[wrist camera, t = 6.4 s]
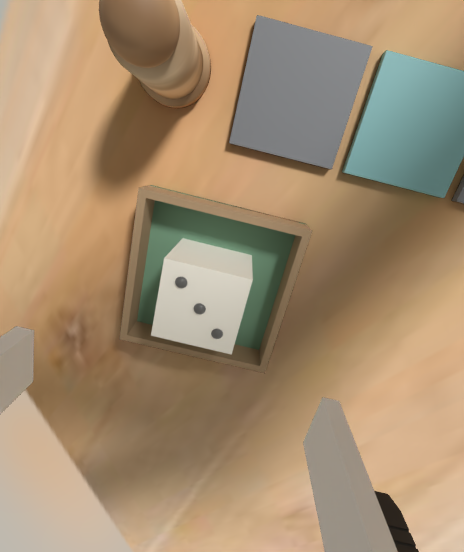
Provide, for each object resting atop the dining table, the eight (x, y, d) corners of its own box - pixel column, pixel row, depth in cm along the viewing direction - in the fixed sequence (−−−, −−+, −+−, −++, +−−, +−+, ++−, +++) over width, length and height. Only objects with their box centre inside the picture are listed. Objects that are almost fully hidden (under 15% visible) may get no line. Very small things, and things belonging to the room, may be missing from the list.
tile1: (256, 19, 21) (257, 14, 20) (369, 49, 21) (372, 46, 20) (229, 143, 23) (229, 142, 23) (329, 169, 24) (331, 169, 23)
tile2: (382, 53, 21) (386, 50, 20) (492, 82, 21) (499, 80, 21) (341, 172, 24) (344, 172, 23) (439, 197, 24) (444, 198, 23)
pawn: (144, 14, 21) (70, -95, 12) (218, 34, 21) (196, -60, 12) (135, 98, 23) (64, 55, 14) (203, 115, 23) (175, 84, 14)
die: (182, 238, 26) (162, 259, 20) (251, 255, 26) (252, 281, 20) (170, 304, 28) (149, 341, 22) (234, 319, 28) (230, 360, 22)
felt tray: (151, 185, 25) (138, 187, 22) (305, 223, 25) (312, 230, 22) (131, 322, 29) (119, 339, 26) (263, 353, 30) (264, 373, 27)
